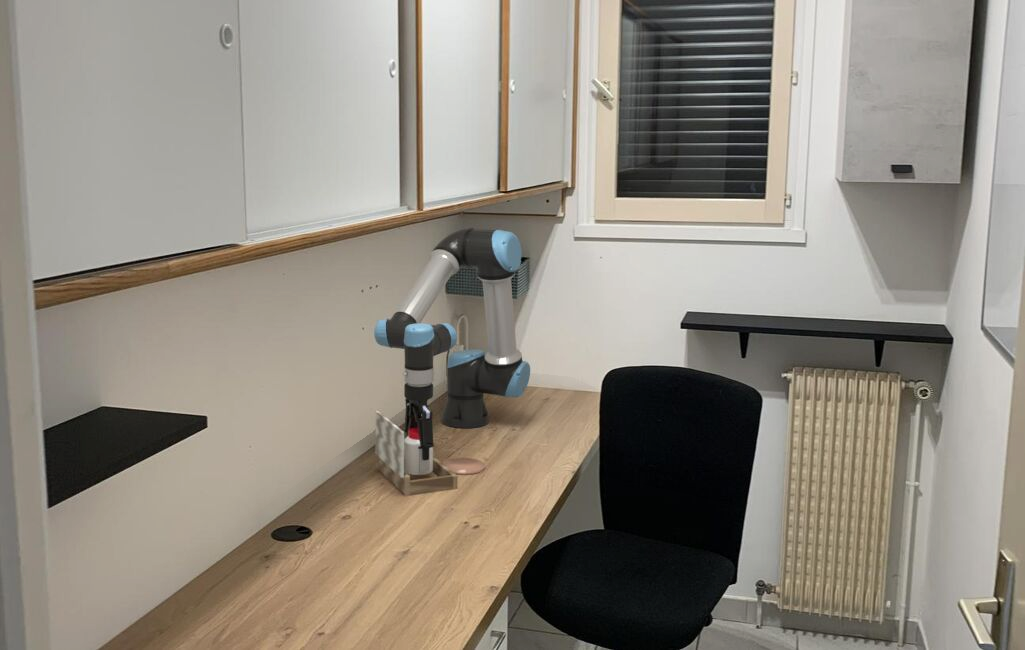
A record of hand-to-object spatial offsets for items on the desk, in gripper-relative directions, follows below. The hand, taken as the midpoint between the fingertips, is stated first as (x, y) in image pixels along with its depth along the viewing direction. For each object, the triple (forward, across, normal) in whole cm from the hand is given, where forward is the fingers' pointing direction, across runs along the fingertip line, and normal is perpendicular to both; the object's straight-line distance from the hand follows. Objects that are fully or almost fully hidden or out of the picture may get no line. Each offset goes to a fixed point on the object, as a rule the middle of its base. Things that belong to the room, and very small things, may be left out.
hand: (418, 465), depth 260 cm
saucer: (+4, -4, +15) cm, 16 cm away
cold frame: (+4, 0, 0) cm, 4 cm away
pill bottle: (+1, 0, 0) cm, 1 cm away
